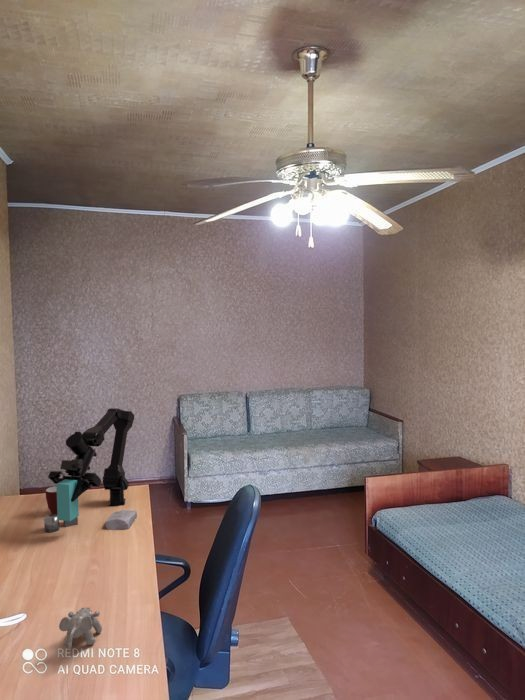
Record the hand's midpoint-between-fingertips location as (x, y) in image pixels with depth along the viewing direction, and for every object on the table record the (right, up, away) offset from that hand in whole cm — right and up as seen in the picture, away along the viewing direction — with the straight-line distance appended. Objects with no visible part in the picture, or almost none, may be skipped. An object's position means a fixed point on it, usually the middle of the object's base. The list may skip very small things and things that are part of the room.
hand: (65, 500), depth 174 cm
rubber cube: (-3, -13, +13) cm, 19 cm away
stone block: (+16, -13, +13) cm, 24 cm away
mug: (-13, -13, +25) cm, 31 cm away
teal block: (0, -7, +2) cm, 7 cm away
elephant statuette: (+27, -16, -59) cm, 67 cm away
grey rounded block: (-8, -13, +8) cm, 17 cm away
